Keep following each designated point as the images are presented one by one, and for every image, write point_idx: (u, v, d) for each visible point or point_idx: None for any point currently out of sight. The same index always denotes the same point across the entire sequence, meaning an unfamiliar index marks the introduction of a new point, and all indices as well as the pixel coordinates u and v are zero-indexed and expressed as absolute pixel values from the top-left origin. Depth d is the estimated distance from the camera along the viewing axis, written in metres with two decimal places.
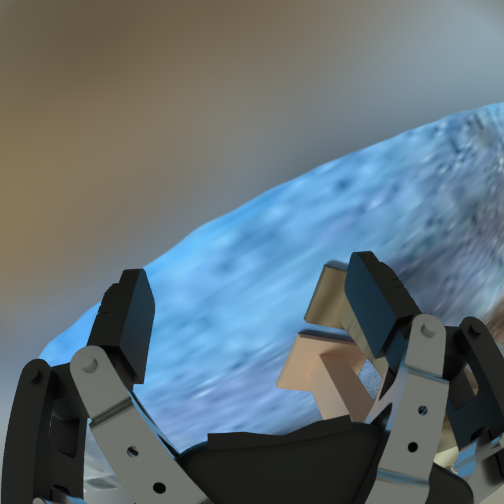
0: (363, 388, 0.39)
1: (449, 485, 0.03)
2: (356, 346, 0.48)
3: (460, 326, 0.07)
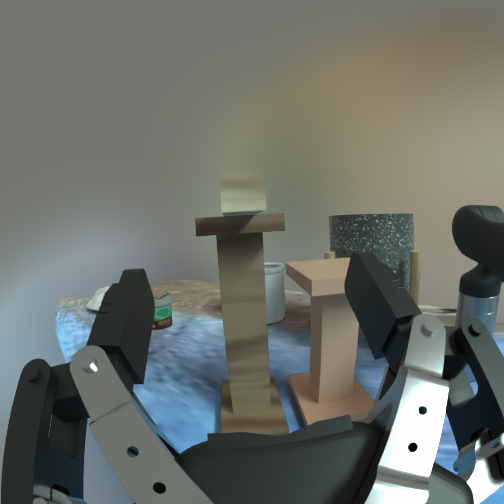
0: (311, 341, 0.44)
1: (449, 485, 0.03)
2: (293, 385, 0.47)
3: (460, 326, 0.07)
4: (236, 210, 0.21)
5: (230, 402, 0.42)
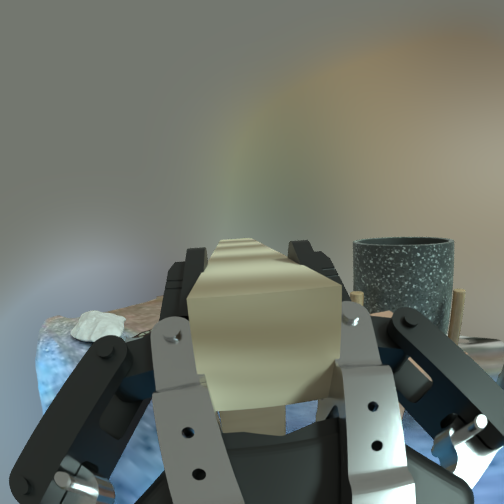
0: None
1: (449, 485, 0.03)
2: None
3: (391, 323, 0.07)
4: (248, 407, 0.06)
5: None
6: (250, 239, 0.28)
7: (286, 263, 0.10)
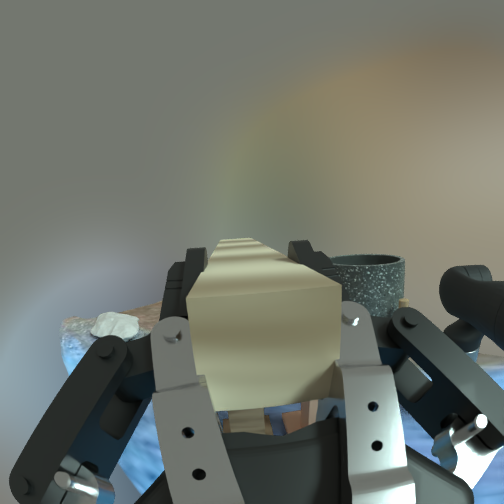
0: None
1: (449, 485, 0.03)
2: (286, 423, 0.50)
3: (391, 323, 0.07)
4: (248, 407, 0.06)
5: None
6: (250, 239, 0.28)
7: (286, 263, 0.10)
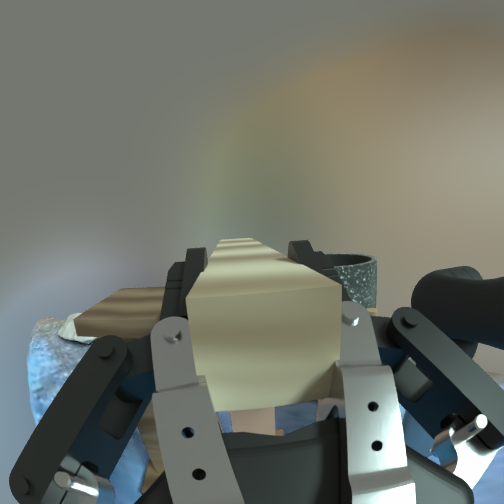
0: None
1: (449, 485, 0.03)
2: None
3: (391, 323, 0.07)
4: (248, 407, 0.06)
5: None
6: (250, 239, 0.28)
7: (286, 263, 0.10)
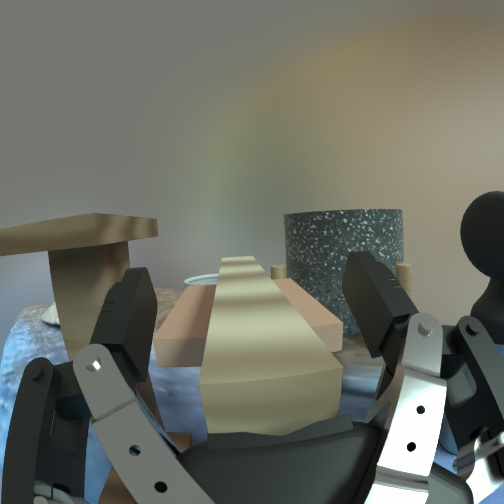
0: None
1: (449, 485, 0.03)
2: None
3: (457, 325, 0.07)
4: None
5: None
6: (252, 259, 0.28)
7: (290, 317, 0.10)
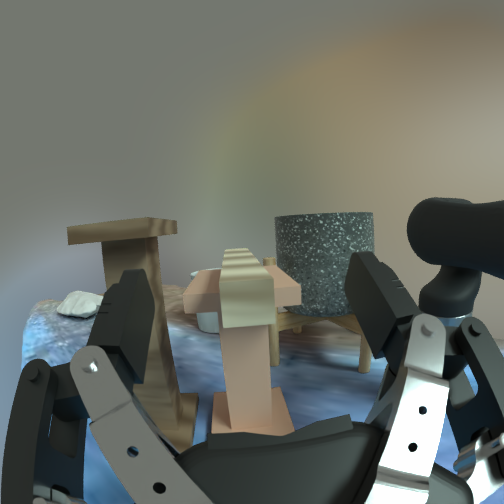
0: None
1: (449, 485, 0.03)
2: (214, 404, 0.41)
3: (460, 326, 0.07)
4: (240, 325, 0.17)
5: None
6: None
7: (259, 269, 0.21)
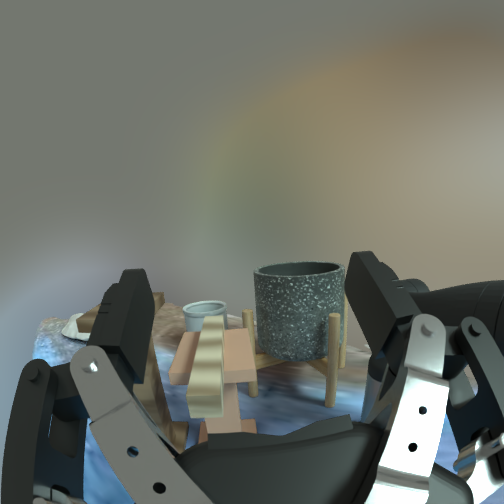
0: None
1: (449, 485, 0.03)
2: (200, 432, 0.48)
3: (460, 326, 0.07)
4: (201, 417, 0.24)
5: None
6: (221, 321, 0.47)
7: (216, 375, 0.28)
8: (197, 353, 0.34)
